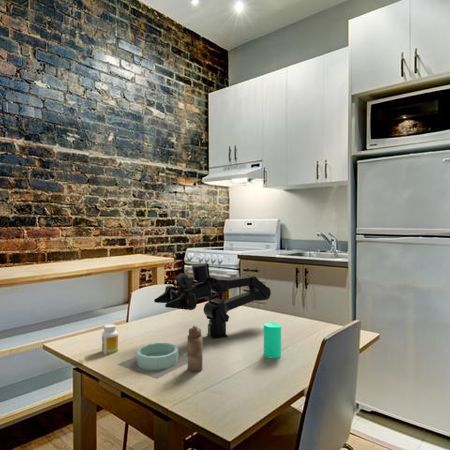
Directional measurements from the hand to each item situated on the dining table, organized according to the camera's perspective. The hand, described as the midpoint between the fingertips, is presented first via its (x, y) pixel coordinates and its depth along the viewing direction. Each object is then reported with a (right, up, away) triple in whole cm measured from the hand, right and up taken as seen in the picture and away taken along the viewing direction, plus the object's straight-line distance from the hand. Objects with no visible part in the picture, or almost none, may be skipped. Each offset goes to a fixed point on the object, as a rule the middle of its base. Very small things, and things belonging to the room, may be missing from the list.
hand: (159, 303), depth 127 cm
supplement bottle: (-17, -17, -4) cm, 24 cm away
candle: (+40, -17, -6) cm, 44 cm away
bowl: (+2, -16, -13) cm, 21 cm away
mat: (+2, -17, -13) cm, 21 cm away
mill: (+14, -17, -19) cm, 29 cm away
